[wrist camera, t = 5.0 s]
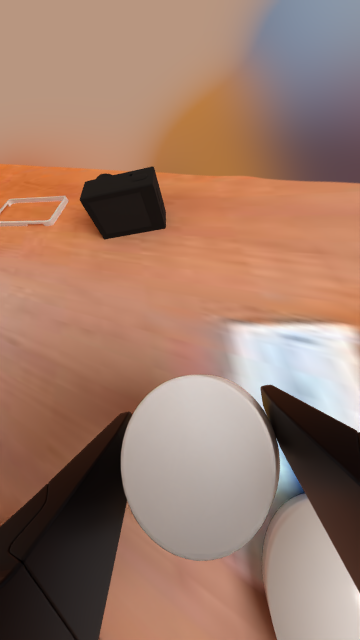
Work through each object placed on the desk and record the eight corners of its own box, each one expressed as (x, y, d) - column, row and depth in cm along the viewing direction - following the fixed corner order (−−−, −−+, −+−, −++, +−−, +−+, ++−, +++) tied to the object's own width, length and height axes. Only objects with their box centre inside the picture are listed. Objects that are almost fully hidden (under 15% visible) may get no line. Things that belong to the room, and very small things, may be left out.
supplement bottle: (247, 510, 12) (302, 697, 4) (160, 472, 14) (51, 537, 5) (261, 410, 14) (315, 376, 6) (184, 388, 16) (136, 334, 7)
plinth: (480, 621, 12) (535, 661, 10) (375, 789, 11) (413, 879, 9) (322, 460, 17) (336, 464, 15) (231, 561, 15) (232, 582, 13)
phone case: (71, 201, 43) (14, 204, 47) (66, 195, 42) (8, 198, 45) (54, 227, 40) (-6, 228, 44) (49, 221, 38) (-12, 222, 42)
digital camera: (166, 206, 36) (154, 160, 30) (166, 228, 33) (153, 183, 27) (108, 217, 37) (85, 176, 31) (104, 239, 35) (78, 199, 29)
